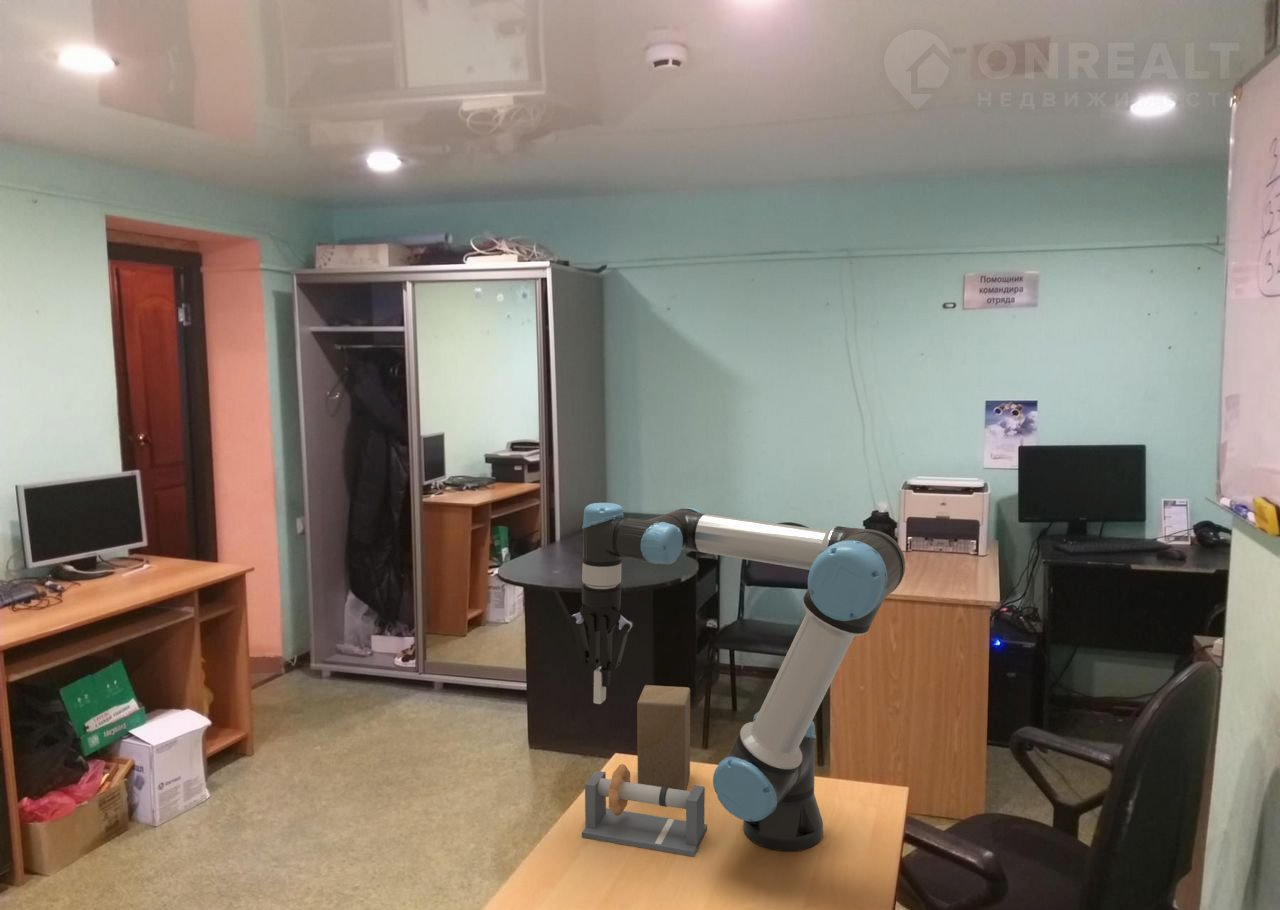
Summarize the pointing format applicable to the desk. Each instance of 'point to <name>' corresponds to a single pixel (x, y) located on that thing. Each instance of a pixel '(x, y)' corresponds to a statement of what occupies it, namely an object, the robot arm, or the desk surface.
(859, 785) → the desk surface
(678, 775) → the wooden block
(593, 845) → the desk surface
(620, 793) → the pipe stand
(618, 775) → the o-ring
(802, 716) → the robot arm
